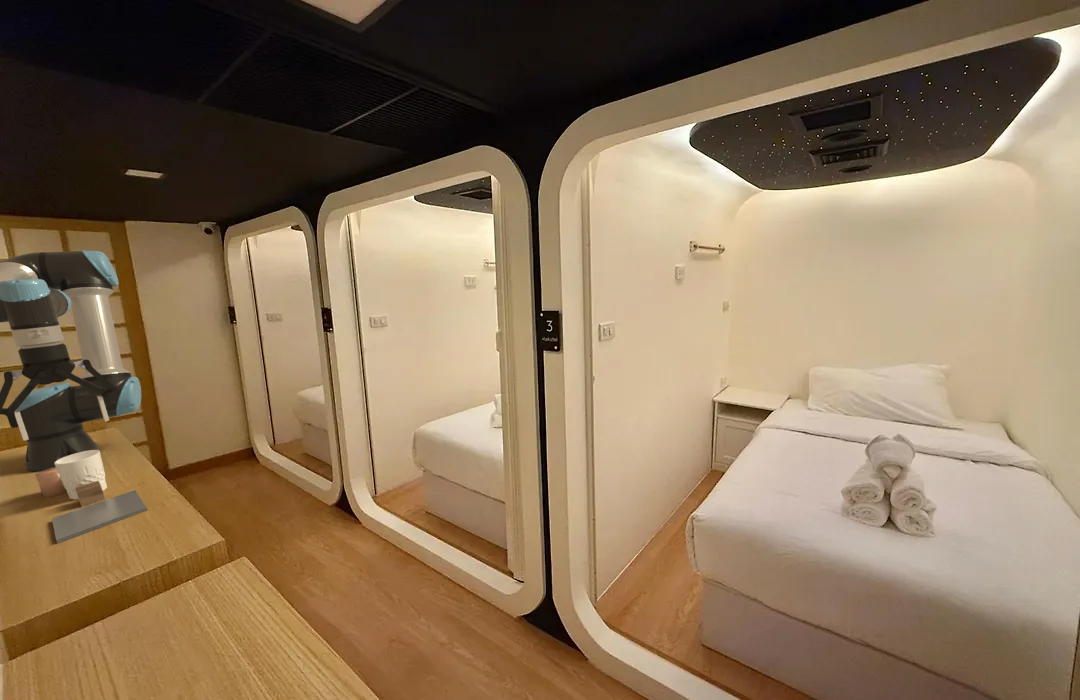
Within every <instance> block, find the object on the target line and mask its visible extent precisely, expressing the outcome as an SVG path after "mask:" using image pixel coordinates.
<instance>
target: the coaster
mask: <svg viewBox="0 0 1080 700" xmlns="http://www.w3.org/2000/svg"><path fill="white" fill-rule="evenodd" d="M146 511H148V508H147V506H146V504H145V503H144V501H143V500H142V498H141V497H140V495H139V493H137V491H136V490H135V489H134V490H131V491H129V492H126V493H122V494H120V495H116V496H113V497H111V498H108V499H104V500H101V501H98V502H95V503H92V504H89V505H86V506H84V507H81V508H78V509H75V510H72V511H69V512H67V513H63V514H61V515H57V516H55V517H52V518H51V521H52V522H51V523H52V526H53V531H54V535H55V540H56V543H57V544H60V543H63V542H65V541H68V540H71V539H74V538H77V537H80V536H82V535H84V534H87V533H89V532H92V531H94V530H98V529H101V528H103V527H106V526H108V525H111V524H114V523H116V522H118V521H122V520H124V519H127V518H130V517H132V516H133V517H134V516H135V515H138V514H141V513H143V512H146Z"/></svg>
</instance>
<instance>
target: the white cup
mask: <svg viewBox="0 0 1080 700" xmlns="http://www.w3.org/2000/svg"><path fill="white" fill-rule="evenodd" d="M54 464H55V466H56V469H57V471H58V474H59V476H60V479H61V481H62V483H63V485H64V487H65V489H66V490H67V491H66V492H67V494H68V498H69V500H79V498H78V495H77V492H76V489H75V488H76V487H79V486H82V485H85V484H89V483H92V482H95V481H99V483H100V485H101V488H102V491H103V492H104V491H105V490H106V489H108V484H107V481H106V474H105V468H104V463H103V459H102V456H101V450H100V449H98V450H89V451H83V452H79V453H75V454H72V455H69V456H66V457H63V458H61V459H59V460H57V461H55V462H54Z"/></svg>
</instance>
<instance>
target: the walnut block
mask: <svg viewBox="0 0 1080 700" xmlns="http://www.w3.org/2000/svg"><path fill="white" fill-rule="evenodd" d="M75 489H76V492H77V495H78V498H79V499H78V501H79V504H80V506H81V508H84V507H87V506H90V505H93V504H95V503H98V502H101V501H104V500H106V498H105V495H104V491H102V488H101V485H100V483H99V481H95V482H92V483H89V484H85V485H82V486H79V487H76V488H75Z"/></svg>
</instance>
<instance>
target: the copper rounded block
mask: <svg viewBox="0 0 1080 700" xmlns="http://www.w3.org/2000/svg"><path fill="white" fill-rule="evenodd" d="M35 477H36V482H37V483H38V487H39V488H40V489H39V490H40V491H41V495H42V497H43V498H49V497H50V498H51V497H54V496H58V495H61V494H65V493H66V492H67V490H66V489H65V487H64V485H63V483H62V481H61V479H60V476H59V474H58V471H57V469H56V467H53V468H49V469H46V470H40V471H37V473H35Z"/></svg>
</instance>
